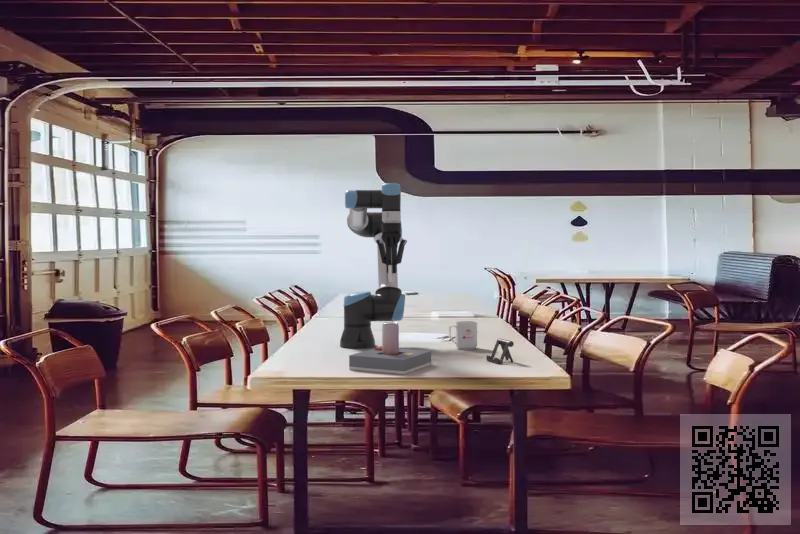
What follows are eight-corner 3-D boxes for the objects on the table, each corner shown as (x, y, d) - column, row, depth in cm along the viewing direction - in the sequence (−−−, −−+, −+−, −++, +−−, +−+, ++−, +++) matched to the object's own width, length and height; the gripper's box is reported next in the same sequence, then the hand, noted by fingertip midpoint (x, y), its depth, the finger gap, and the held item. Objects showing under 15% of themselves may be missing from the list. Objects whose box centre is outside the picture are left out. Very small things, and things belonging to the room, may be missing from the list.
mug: (474, 346, 322) (474, 320, 322) (479, 349, 313) (479, 323, 313) (446, 347, 320) (446, 321, 320) (451, 350, 312) (451, 323, 311)
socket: (349, 369, 268) (349, 353, 268) (379, 360, 288) (379, 345, 287) (404, 374, 258) (403, 357, 258) (431, 364, 277) (431, 348, 277)
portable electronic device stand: (486, 361, 285) (486, 339, 285) (503, 359, 288) (503, 337, 288) (498, 364, 277) (498, 342, 277) (516, 363, 280) (516, 340, 280)
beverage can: (381, 362, 275) (381, 322, 275) (398, 362, 276) (397, 321, 275) (383, 365, 270) (382, 323, 269) (399, 365, 270) (399, 323, 270)
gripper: (372, 222, 298) (372, 281, 299) (401, 222, 292) (401, 282, 293) (381, 222, 305) (381, 280, 306) (410, 222, 299) (410, 281, 300)
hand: (391, 281), depth 300 cm, fingers closed
